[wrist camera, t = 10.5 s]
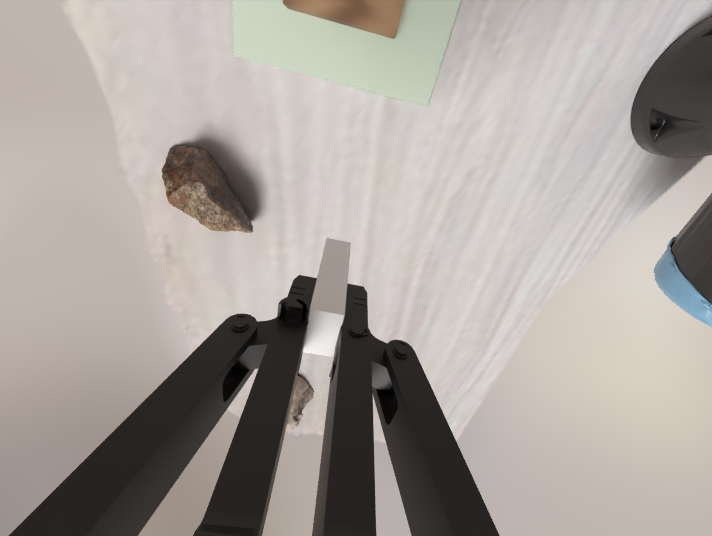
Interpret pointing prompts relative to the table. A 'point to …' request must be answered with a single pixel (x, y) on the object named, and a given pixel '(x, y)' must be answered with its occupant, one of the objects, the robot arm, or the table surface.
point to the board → (355, 13)
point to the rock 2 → (298, 403)
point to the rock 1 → (202, 190)
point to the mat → (349, 46)
